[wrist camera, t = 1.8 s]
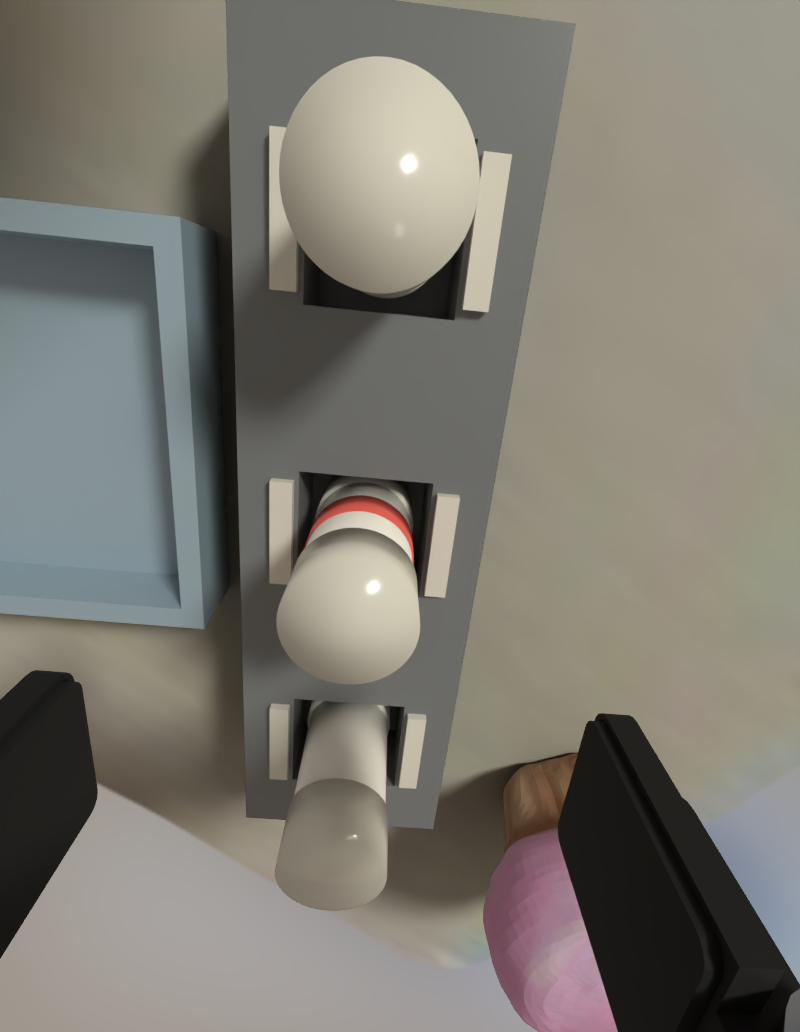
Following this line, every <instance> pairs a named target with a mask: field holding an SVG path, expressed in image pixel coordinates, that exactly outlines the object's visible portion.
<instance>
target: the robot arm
mask: <svg viewBox="0 0 800 1032" xmlns="http://www.w3.org/2000/svg"><path fill="white" fill-rule="evenodd" d="M96 800H97V783H96V777H95V770H94V764H93V757H92V750H91V744H90V737H89V731H88V724H87V717H86V711H85V704H84V697H83V691H82V686H81V684H80V683H79V682H74V679H73V676H72V675H71V674H70V673H64V672H51V671H38V670H36V671H32V672H30V673H29V674H28V675H26V676H25V677H24V678H23V679H22V680H21V681H20V682H19V683H18V684H17V685H16V686H15V687H13V688H12V689H11V690H10V691H9V692H8V693H7V694H6V695H5V696H4V697H3V698H2V699H1V700H0V958H1V957H2V955H3V953H4V952H5V950H6V949H7V947H8V946H9V944H10V942H11V941H12V939H13V938H14V936H15V934H16V933H17V931H18V930H19V928H20V926H21V925H22V923H23V922H24V920H25V918H26V917H27V915H28V914H29V912H30V910H31V909H32V907H33V906H34V904H35V902H36V901H37V899H38V898H39V896H40V894H41V893H42V891H43V890H44V888H45V886H46V885H47V883H48V881H49V880H50V878H51V877H52V875H53V874H54V872H55V870H56V869H57V867H58V866H59V864H60V863H61V861H62V859H63V858H64V856H65V855H66V853H67V851H68V850H69V848H70V846H71V845H72V843H73V842H74V840H75V839H76V837H77V835H78V834H79V832H80V830H81V829H82V827H83V826H84V824H85V823H86V821H87V819H88V818H89V816H90V814H91V813H92V811H93V809H94V806H95V803H96ZM558 838H559V843H560V847H561V850H562V854H563V857H564V860H565V863H566V867H567V870H568V873H569V876H570V879H571V883H572V886H573V889H574V892H575V895H576V899H577V902H578V905H579V908H580V912H581V915H582V918H583V921H584V924H585V928H586V931H587V934H588V937H589V941H590V944H591V947H592V950H593V953H594V957H595V960H596V963H597V966H598V970H599V973H600V976H601V979H602V982H603V986H604V989H605V992H606V995H607V999H608V1002H609V1005H610V1008H611V1011H612V1015H613V1018H614V1021H615V1024H616V1028H617V1031H618V1032H800V984H799V982H798V981H797V979H796V977H795V976H794V974H793V973H792V971H791V970H790V968H789V966H788V964H787V963H786V961H785V960H784V958H783V956H782V954H781V953H780V951H779V950H778V948H777V946H776V945H775V943H774V941H773V940H772V938H771V936H770V935H769V933H768V931H767V930H766V928H765V927H764V925H763V923H762V922H761V920H760V918H759V917H758V915H757V913H756V912H755V910H754V908H753V907H752V905H751V904H750V902H749V900H748V899H747V897H746V895H745V894H744V892H743V890H742V889H741V887H740V885H739V884H738V882H737V880H736V879H735V877H734V876H733V874H732V872H731V871H730V869H729V867H728V866H727V864H726V862H725V861H724V859H723V857H722V856H721V854H720V853H719V851H718V849H717V848H716V846H715V844H714V843H713V841H712V839H711V838H710V836H709V835H708V833H707V831H706V829H705V828H704V826H703V825H702V823H701V821H700V820H699V818H698V816H697V815H696V813H695V811H694V810H693V809H692V807H691V806H690V805H689V803H688V802H687V801H686V800H684V799H683V798H682V797H681V795H680V793H679V792H678V790H677V788H676V787H675V785H674V783H673V782H672V780H671V778H670V777H669V775H668V773H667V772H666V770H665V768H664V767H663V765H662V763H661V762H660V760H659V758H658V757H657V755H656V753H655V752H654V750H653V748H652V747H651V745H650V743H649V742H648V740H647V738H646V737H645V735H644V733H643V732H642V730H641V728H640V727H639V725H638V723H637V722H636V720H635V719H634V718H633V717H631V716H629V715H616V714H598V715H597V716H596V719H595V721H589V722H588V723H587V725H586V727H585V731H584V734H583V738H582V741H581V745H580V748H579V752H578V755H577V759H576V762H575V766H574V769H573V773H572V776H571V780H570V783H569V787H568V790H567V794H566V797H565V801H564V804H563V808H562V811H561V815H560V818H559V822H558Z"/></svg>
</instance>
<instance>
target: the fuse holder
mask: <svg viewBox="0 0 800 1032" xmlns="http://www.w3.org/2000/svg"><path fill="white" fill-rule="evenodd" d="M226 27H227V67H228V107H229V146H230V186H231V226H232V266H233V306H234V345H235V385H236V425H237V465H238V505H239V544H240V584H241V624H242V664H243V704H244V743H245V783H246V817H248V818H264V819H280V820H286V817H287V812H288V807H289V804H290V801H291V800H292V798H293V796H294V793H295V789H296V784H297V779H298V775H299V770H300V765H301V760H302V756H303V751H304V746H305V742H306V737H307V732H308V723H307V722H308V716H309V711H310V706H311V702H312V700H317V701H330V702H344V703H358V704H371V705H385V706H390V729H389V733H388V736H387V763H386V806H387V809H388V826H390V827H406V828H422V829H433V828H434V822H435V816H436V811H437V805H438V799H439V794H440V788H441V782H442V777H443V771H444V765H445V760H446V754H447V748H448V743H449V737H450V731H451V726H452V720H453V714H454V709H455V703H456V697H457V692H458V686H459V680H460V675H461V669H462V664H463V658H464V652H465V647H466V641H467V635H468V630H469V624H470V618H471V613H472V607H473V601H474V596H475V590H476V584H477V579H478V573H479V567H480V562H481V556H482V550H483V545H484V539H485V533H486V528H487V522H488V516H489V511H490V505H491V500H492V494H493V488H494V483H495V477H496V471H497V466H498V460H499V454H500V449H501V443H502V437H503V432H504V426H505V420H506V415H507V409H508V403H509V398H510V392H511V386H512V381H513V375H514V369H515V364H516V358H517V352H518V347H519V341H520V336H521V330H522V324H523V319H524V313H525V307H526V302H527V296H528V290H529V285H530V279H531V273H532V268H533V262H534V256H535V251H536V245H537V239H538V234H539V228H540V222H541V217H542V211H543V205H544V200H545V194H546V188H547V183H548V177H549V172H550V166H551V160H552V155H553V149H554V143H555V138H556V132H557V126H558V121H559V115H560V109H561V104H562V98H563V92H564V87H565V81H566V75H567V70H568V64H569V58H570V53H571V47H572V41H573V36H574V30H575V24H573V23H565V22H557V21H549V20H542V19H534V18H526V17H519V16H511V15H503V14H496V13H488V12H480V11H472V10H465V9H457V8H449V7H442V6H434V5H426V4H418V3H411V2H403V1H395V0H226ZM372 56H380V57H391V58H396V59H401V60H404V61H407V62H409V63H412V64H415V65H417V66H418V67H420V68H422V69H424V70H425V71H427V72H429V73H430V74H431V75H433V76H434V77H435V78H436V79H438V80H439V81H440V82H441V83H442V84H443V85H444V86H445V87H446V88H447V89H448V90H449V91H450V92H451V94H452V95H453V97H454V98H455V99H456V101H457V102H458V103H459V105H460V107H461V108H462V110H463V112H464V114H465V116H466V118H467V120H468V122H469V125H470V127H471V130H472V132H473V136H474V139H475V143H476V147H477V153H478V159H479V174H480V182H479V195H478V200H477V205H476V210H475V213H474V216H473V220H472V223H471V225H470V228H469V230H468V232H467V234H466V237H465V238H464V240H463V242H462V243H461V245H460V247H459V248H458V250H457V251H456V252H455V254H454V255H453V256H452V258H451V259H450V260H449V261H448V262H447V263H446V264H445V265H444V266H443V267H442V268H441V269H440V270H439V271H438V272H437V273H436V274H434V275H433V276H432V277H431V278H429V279H428V280H427V281H426V282H425V283H424V284H423V285H422V286H421V287H420V288H418V289H417V290H416V291H414V292H412V293H410V294H408V295H406V296H403V297H399V298H394V299H382V298H377V297H374V296H371V295H368V294H366V293H364V292H362V291H359V290H356V289H354V288H352V287H349V286H347V285H345V284H343V283H341V282H339V281H337V280H335V279H334V278H332V277H331V276H329V275H328V274H326V273H325V272H324V271H323V270H321V269H320V268H319V267H318V266H317V265H316V264H315V263H314V262H313V261H312V260H311V259H310V258H309V257H308V255H307V254H306V253H305V251H304V250H303V249H302V247H301V246H300V244H299V243H298V241H297V239H296V237H295V236H294V234H293V232H292V230H291V227H290V225H289V222H288V220H287V218H286V214H285V211H284V207H283V204H282V198H281V192H280V184H279V162H280V153H281V147H282V141H283V138H284V134H285V131H286V128H287V125H288V123H289V120H290V118H291V116H292V114H293V111H294V110H295V108H296V106H297V105H298V103H299V101H300V100H301V98H302V97H303V96H304V94H305V93H306V92H307V91H308V90H309V88H310V87H311V86H312V85H313V84H314V83H315V82H316V81H317V80H318V79H320V78H321V77H322V76H323V75H325V74H326V73H327V72H329V71H330V70H332V69H333V68H335V67H337V66H339V65H341V64H343V63H346V62H348V61H352V60H355V59H358V58H364V57H372ZM334 475H344V476H355V477H366V478H377V479H388V480H399V481H404V482H405V484H406V486H407V487H408V490H409V492H410V496H411V502H412V516H413V532H412V539H413V553H414V568H415V571H416V575H417V586H418V601H419V615H420V634H419V639H418V642H417V645H416V648H415V650H414V651H413V653H412V655H411V656H410V657H409V659H408V660H407V661H406V662H405V663H404V664H403V665H402V666H401V667H400V668H399V669H398V670H396V671H395V672H393V673H392V674H390V675H388V676H386V677H384V678H382V679H379V680H376V681H373V682H369V683H364V684H354V685H350V684H338V683H332V682H328V681H325V680H322V679H319V678H317V677H315V676H313V675H311V674H309V673H307V672H306V671H304V670H303V669H301V668H300V667H299V666H298V665H296V663H295V662H294V661H293V660H292V659H291V658H290V657H289V656H288V654H287V653H286V652H285V650H284V648H283V646H282V645H281V642H280V639H279V637H278V632H277V624H276V619H277V612H278V608H279V604H280V602H281V599H282V597H283V594H284V592H285V589H286V587H287V584H288V582H289V579H290V577H291V574H292V572H293V569H294V567H295V564H296V562H297V559H298V558H299V556H300V554H301V553H302V551H303V550H304V548H305V544H306V541H307V538H308V536H309V533H310V531H311V528H312V526H313V523H314V521H315V516H316V512H317V509H318V506H319V504H320V501H321V499H322V496H323V494H324V491H325V489H326V486H327V484H328V483H329V481H330V480H331V478H332V477H333V476H334Z"/></svg>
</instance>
